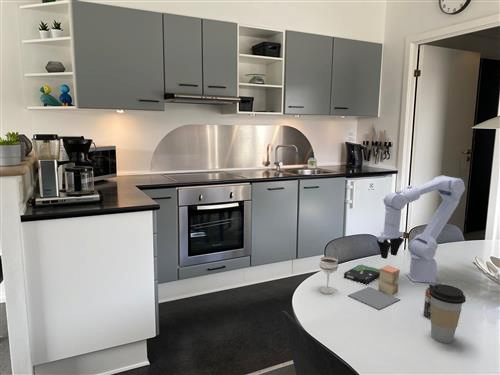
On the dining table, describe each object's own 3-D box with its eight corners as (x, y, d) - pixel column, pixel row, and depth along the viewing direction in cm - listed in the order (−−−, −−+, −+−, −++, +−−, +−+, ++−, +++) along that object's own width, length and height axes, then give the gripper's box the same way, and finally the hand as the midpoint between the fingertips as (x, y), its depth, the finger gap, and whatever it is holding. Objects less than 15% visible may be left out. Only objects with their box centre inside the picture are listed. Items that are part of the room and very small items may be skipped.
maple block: (385, 287, 146) (387, 265, 144) (397, 292, 142) (399, 269, 140) (378, 290, 143) (380, 268, 141) (390, 295, 139) (392, 272, 137)
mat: (369, 287, 145) (369, 286, 145) (400, 300, 135) (400, 299, 135) (347, 296, 137) (347, 295, 137) (379, 310, 127) (379, 309, 127)
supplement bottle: (441, 313, 126) (445, 281, 124) (444, 322, 120) (448, 288, 119) (422, 310, 128) (425, 279, 126) (424, 318, 122) (427, 285, 120)
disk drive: (367, 286, 147) (382, 276, 158) (367, 280, 147) (383, 269, 158) (343, 279, 154) (359, 269, 165) (343, 272, 154) (360, 263, 165)
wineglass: (336, 295, 138) (338, 263, 136) (317, 292, 139) (319, 262, 137) (336, 287, 145) (338, 257, 143) (318, 285, 146) (320, 255, 144)
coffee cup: (418, 329, 116) (423, 283, 113) (447, 328, 116) (453, 283, 114) (436, 347, 106) (442, 297, 104) (467, 346, 107) (474, 296, 105)
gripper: (393, 219, 156) (389, 250, 158) (372, 223, 147) (369, 256, 149) (409, 222, 150) (405, 255, 152) (388, 227, 141) (385, 262, 143)
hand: (388, 256), depth 150 cm, fingers open, 6 cm apart
